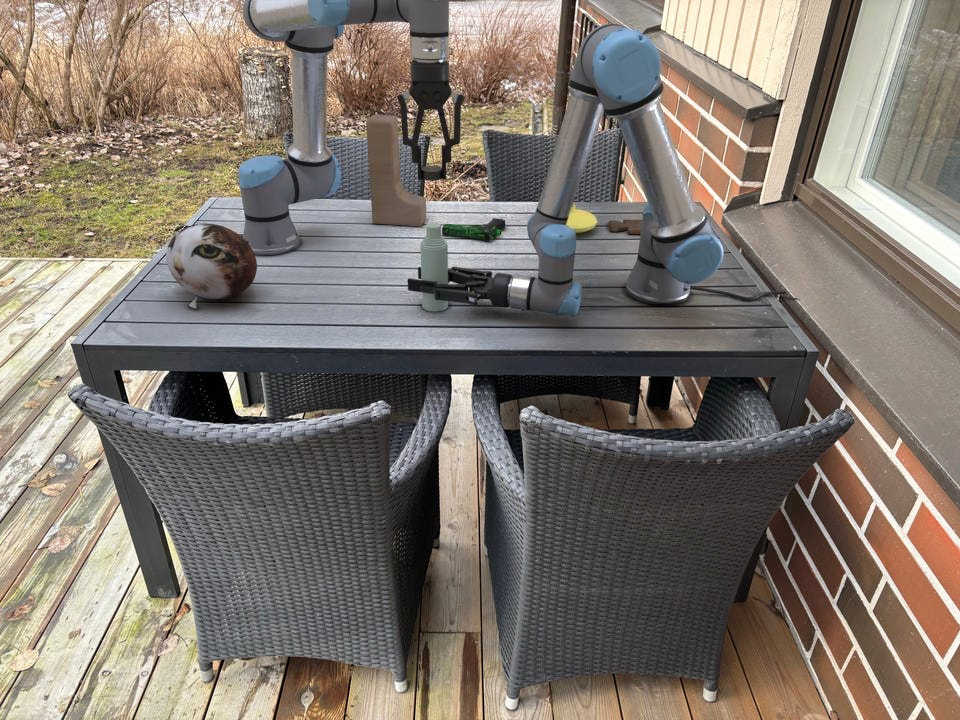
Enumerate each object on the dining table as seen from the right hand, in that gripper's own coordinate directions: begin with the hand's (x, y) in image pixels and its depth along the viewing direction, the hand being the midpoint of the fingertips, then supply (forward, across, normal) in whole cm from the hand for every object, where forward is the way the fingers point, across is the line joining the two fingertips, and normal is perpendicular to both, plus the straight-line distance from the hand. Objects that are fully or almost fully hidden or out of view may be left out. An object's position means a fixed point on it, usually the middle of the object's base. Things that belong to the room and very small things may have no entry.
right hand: (413, 278), depth 164 cm
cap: (-5, 0, +26) cm, 26 cm away
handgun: (-1, +49, -6) cm, 49 cm away
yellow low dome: (-27, +60, -6) cm, 66 cm away
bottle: (-5, 0, -6) cm, 8 cm away
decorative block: (+23, +50, -6) cm, 56 cm away
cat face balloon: (+45, -10, -6) cm, 47 cm away
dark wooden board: (-50, +67, -6) cm, 84 cm away
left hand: (-5, 0, +24) cm, 24 cm away
